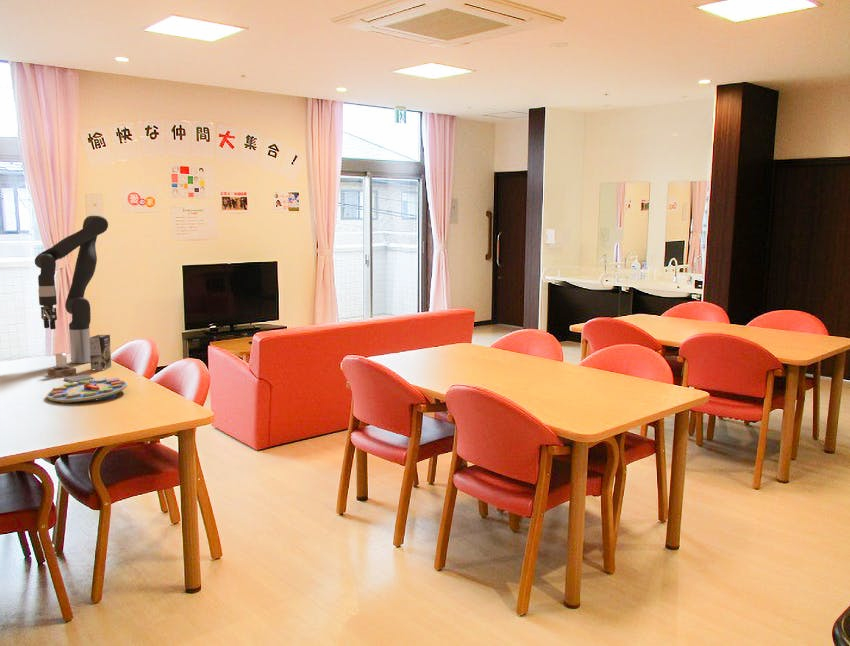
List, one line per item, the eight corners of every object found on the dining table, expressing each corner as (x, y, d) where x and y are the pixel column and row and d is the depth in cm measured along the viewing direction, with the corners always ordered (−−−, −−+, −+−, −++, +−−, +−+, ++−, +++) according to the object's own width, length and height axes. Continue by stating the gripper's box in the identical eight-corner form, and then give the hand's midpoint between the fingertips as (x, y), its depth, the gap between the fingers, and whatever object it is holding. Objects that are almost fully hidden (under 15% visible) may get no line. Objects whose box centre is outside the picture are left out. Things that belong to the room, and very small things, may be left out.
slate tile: (83, 376, 334) (83, 374, 334) (93, 379, 329) (93, 377, 329) (64, 380, 327) (64, 377, 327) (73, 383, 322) (73, 380, 322)
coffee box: (103, 370, 348) (101, 337, 346) (90, 370, 348) (88, 337, 346) (112, 366, 357) (110, 334, 355) (99, 366, 357) (97, 334, 355)
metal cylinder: (64, 373, 341) (63, 352, 339) (69, 374, 338) (67, 353, 337) (54, 374, 337) (53, 353, 336) (59, 376, 335) (58, 355, 333)
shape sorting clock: (46, 391, 308) (46, 377, 307) (124, 384, 321) (123, 371, 321) (46, 408, 281) (45, 393, 280) (131, 400, 295) (130, 386, 294)
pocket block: (67, 371, 344) (66, 365, 344) (76, 374, 338) (76, 368, 338) (47, 375, 337) (47, 368, 337) (56, 377, 331) (56, 371, 331)
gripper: (61, 295, 347) (63, 328, 349) (50, 294, 357) (52, 326, 359) (44, 296, 342) (46, 330, 344) (34, 295, 352) (36, 328, 354)
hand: (49, 328), depth 351 cm, fingers open, 8 cm apart
